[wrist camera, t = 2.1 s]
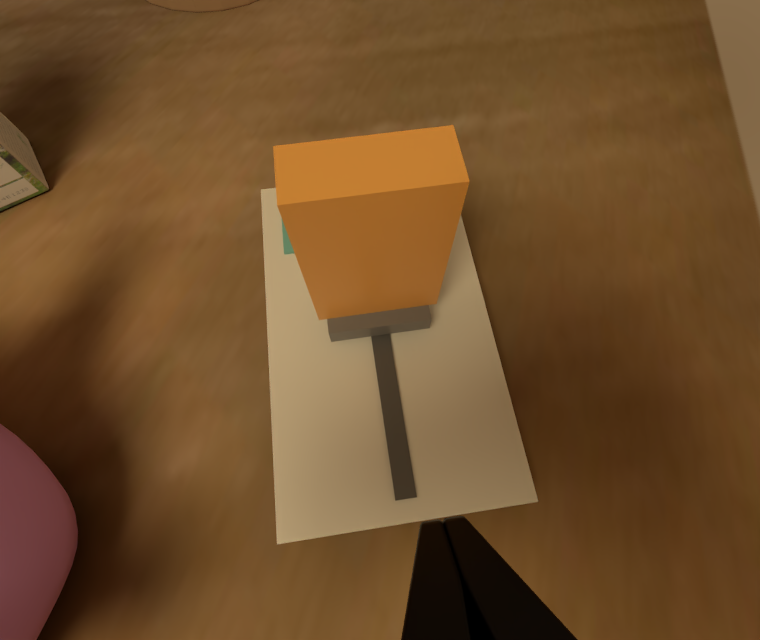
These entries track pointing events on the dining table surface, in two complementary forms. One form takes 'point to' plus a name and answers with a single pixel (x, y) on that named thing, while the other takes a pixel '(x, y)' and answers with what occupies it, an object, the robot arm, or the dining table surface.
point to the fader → (373, 224)
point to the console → (386, 408)
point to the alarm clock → (200, 4)
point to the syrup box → (17, 167)
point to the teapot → (31, 539)
